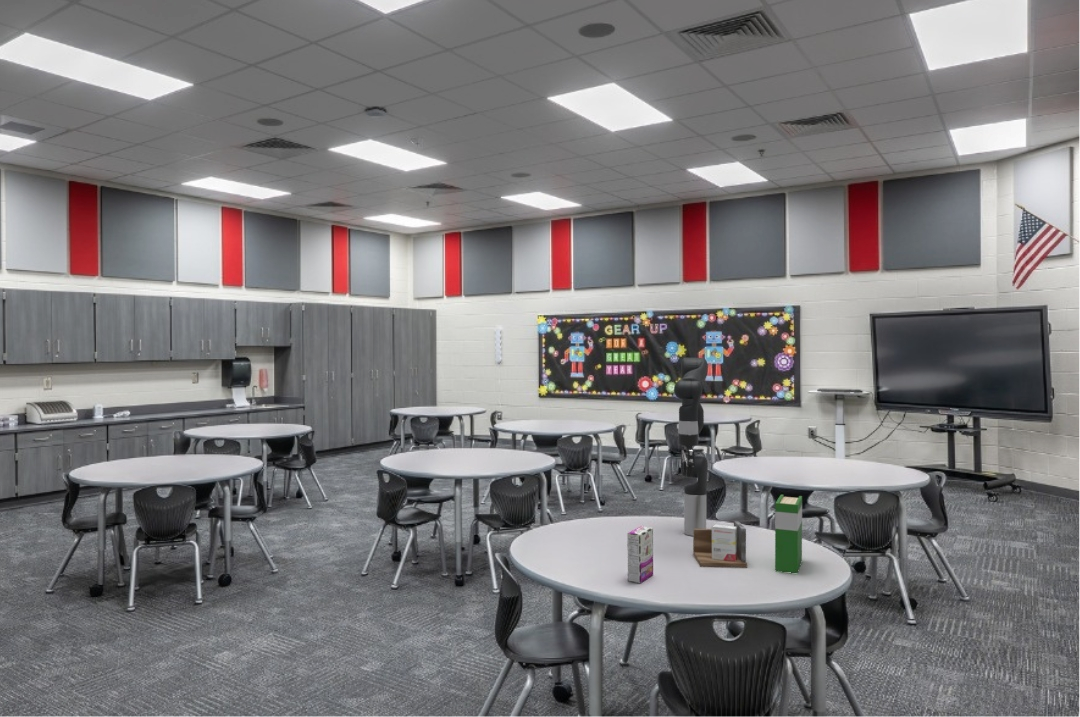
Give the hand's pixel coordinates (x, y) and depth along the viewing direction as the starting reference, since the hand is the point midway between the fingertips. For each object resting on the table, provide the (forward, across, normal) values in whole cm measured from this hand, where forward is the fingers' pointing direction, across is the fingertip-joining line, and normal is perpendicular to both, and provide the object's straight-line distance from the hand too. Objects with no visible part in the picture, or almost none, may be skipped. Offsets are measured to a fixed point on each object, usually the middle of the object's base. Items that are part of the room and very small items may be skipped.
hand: (687, 474), depth 264 cm
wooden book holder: (+30, +10, +10) cm, 33 cm away
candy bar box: (+30, +32, -21) cm, 49 cm away
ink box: (+29, +12, +12) cm, 33 cm away
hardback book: (+30, +14, +34) cm, 48 cm away
